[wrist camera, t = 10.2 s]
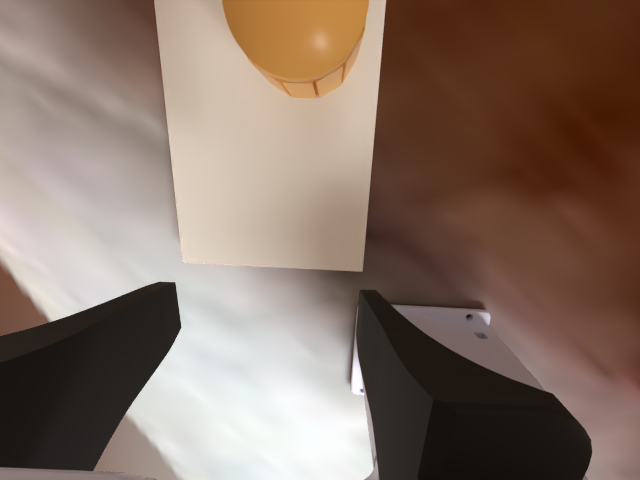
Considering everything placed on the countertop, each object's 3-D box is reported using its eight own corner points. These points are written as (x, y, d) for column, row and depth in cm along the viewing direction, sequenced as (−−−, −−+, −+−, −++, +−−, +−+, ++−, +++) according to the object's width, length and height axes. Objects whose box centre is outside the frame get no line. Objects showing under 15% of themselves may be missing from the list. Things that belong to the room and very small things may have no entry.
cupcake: (362, -21, 15) (376, -101, 10) (354, 100, 16) (363, 80, 12) (253, -23, 15) (216, -104, 10) (256, 96, 17) (225, 75, 12)
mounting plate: (387, -56, 16) (411, -147, 11) (360, 263, 21) (368, 297, 16) (162, -61, 16) (89, -151, 11) (192, 254, 21) (152, 285, 16)
